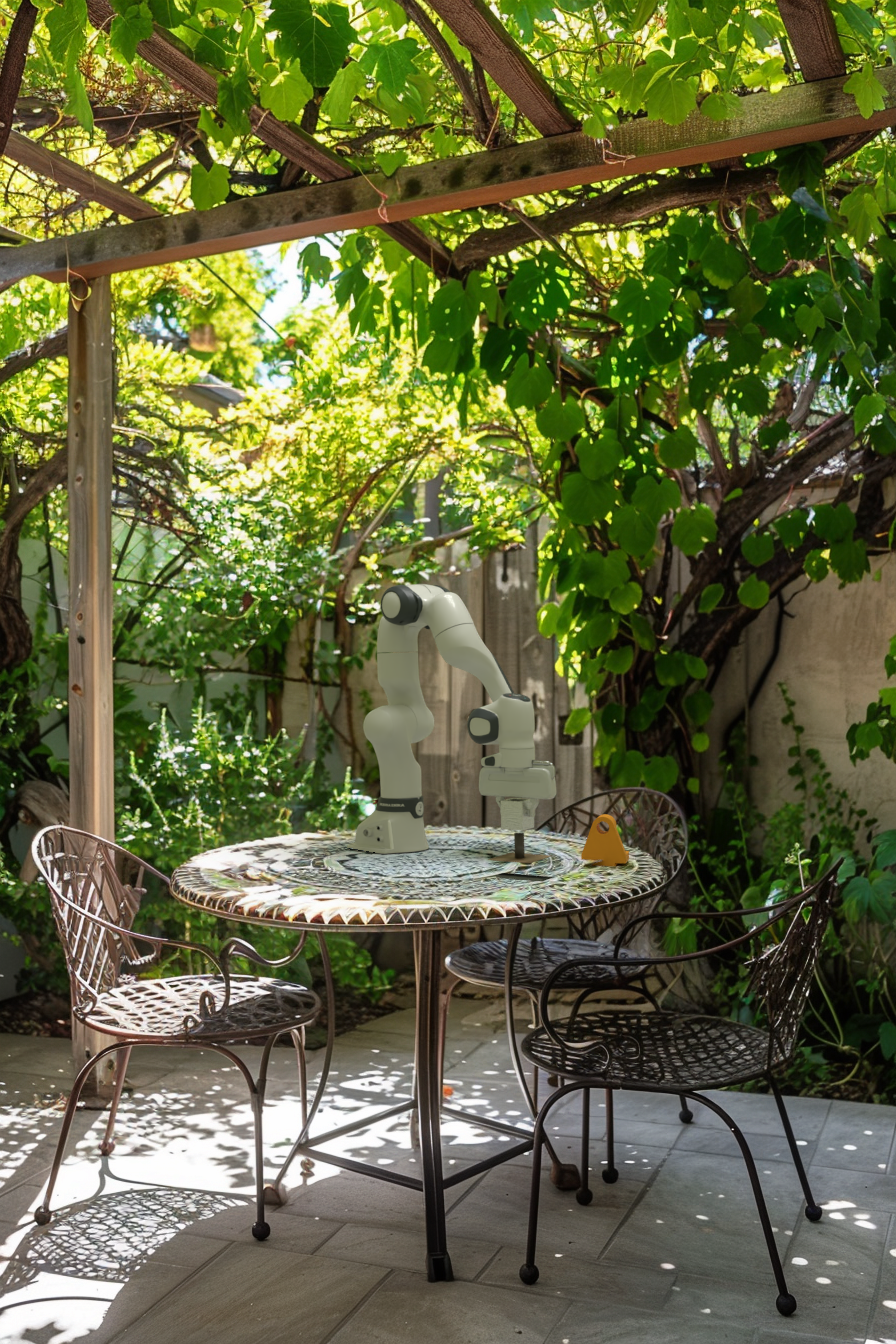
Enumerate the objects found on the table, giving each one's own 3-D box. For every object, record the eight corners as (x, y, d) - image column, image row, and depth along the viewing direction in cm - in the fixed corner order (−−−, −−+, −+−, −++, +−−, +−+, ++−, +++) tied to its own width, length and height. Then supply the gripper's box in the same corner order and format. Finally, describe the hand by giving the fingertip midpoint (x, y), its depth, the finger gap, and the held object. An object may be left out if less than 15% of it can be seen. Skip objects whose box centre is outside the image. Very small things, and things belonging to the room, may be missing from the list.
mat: (496, 877, 287) (496, 875, 287) (520, 869, 298) (520, 866, 298) (542, 881, 281) (542, 878, 281) (565, 872, 291) (565, 870, 291)
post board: (486, 865, 304) (485, 835, 304) (510, 858, 314) (509, 828, 314) (530, 869, 297) (529, 838, 297) (552, 861, 308) (551, 831, 308)
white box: (501, 828, 305) (500, 800, 305) (512, 825, 310) (512, 797, 310) (522, 830, 302) (522, 801, 302) (534, 827, 307) (533, 799, 307)
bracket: (629, 861, 305) (628, 813, 305) (625, 866, 298) (624, 817, 298) (586, 860, 308) (585, 812, 308) (581, 865, 301) (580, 816, 301)
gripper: (560, 760, 303) (561, 816, 303) (487, 756, 313) (488, 811, 314) (549, 762, 297) (549, 819, 298) (475, 759, 308) (475, 814, 308)
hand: (517, 815), depth 306 cm, fingers closed on white box, 6 cm apart
